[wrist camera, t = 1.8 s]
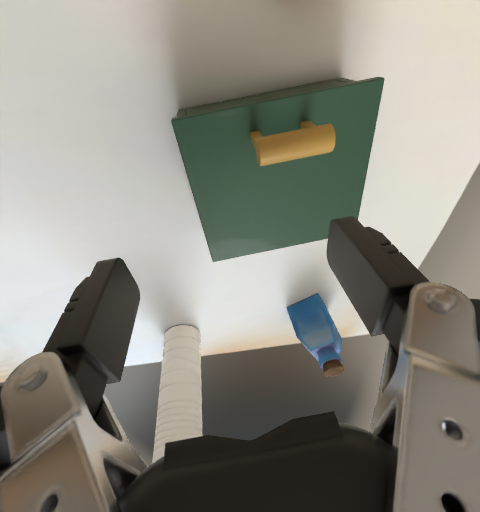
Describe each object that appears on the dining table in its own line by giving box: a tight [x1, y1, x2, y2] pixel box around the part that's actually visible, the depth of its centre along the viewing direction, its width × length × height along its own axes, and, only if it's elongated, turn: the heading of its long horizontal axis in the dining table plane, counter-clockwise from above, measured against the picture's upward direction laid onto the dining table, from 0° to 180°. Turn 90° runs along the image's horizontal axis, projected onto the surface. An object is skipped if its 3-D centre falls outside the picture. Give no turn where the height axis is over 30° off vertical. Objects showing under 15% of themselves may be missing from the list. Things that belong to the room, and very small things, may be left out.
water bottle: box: [152, 325, 202, 463], centre depth 38 cm, size 9×6×25 cm
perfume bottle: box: [287, 293, 344, 377], centre depth 43 cm, size 6×6×12 cm
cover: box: [171, 77, 384, 262], centre depth 22 cm, size 14×16×5 cm
